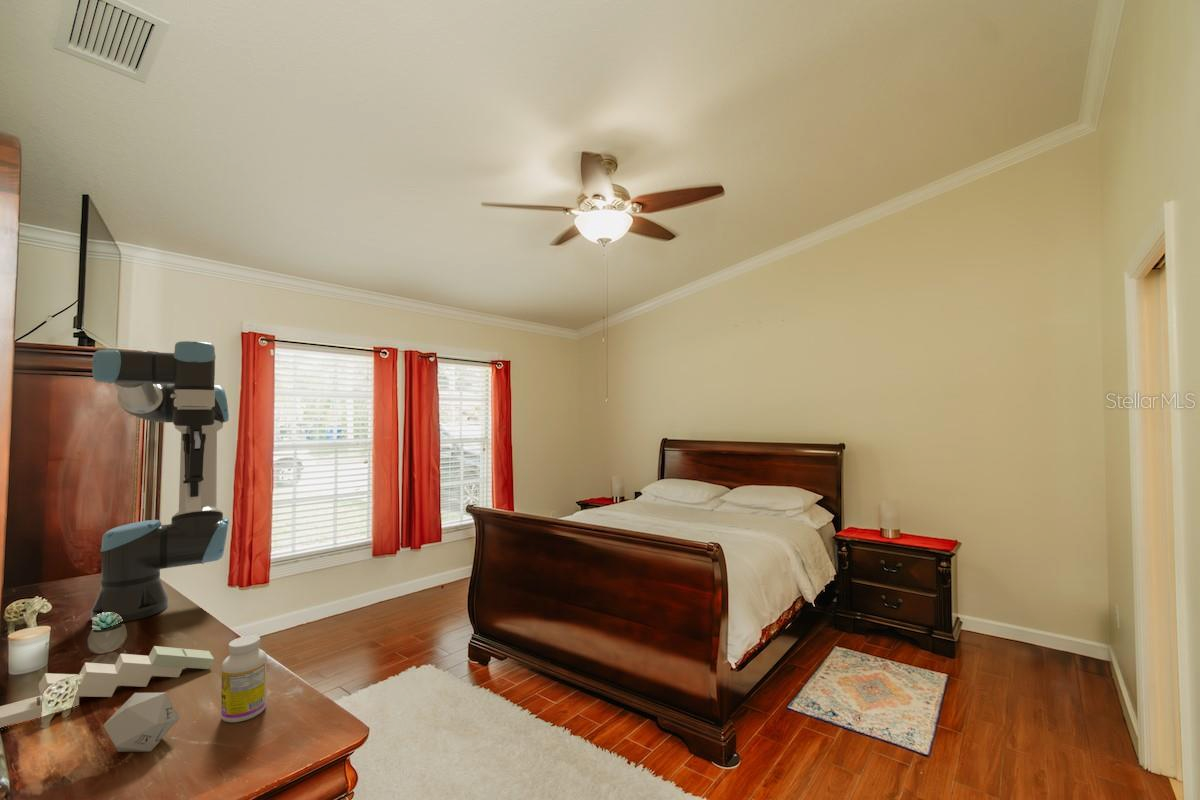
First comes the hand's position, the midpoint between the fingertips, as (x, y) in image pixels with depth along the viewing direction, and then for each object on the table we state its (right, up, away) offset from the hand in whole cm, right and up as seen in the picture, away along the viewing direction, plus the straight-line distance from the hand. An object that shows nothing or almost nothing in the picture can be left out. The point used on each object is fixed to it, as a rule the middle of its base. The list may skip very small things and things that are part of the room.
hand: (193, 510), depth 121 cm
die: (+21, -30, -37) cm, 52 cm away
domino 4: (+12, -29, -11) cm, 33 cm away
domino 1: (-2, -29, -24) cm, 38 cm away
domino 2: (+1, -29, -21) cm, 36 cm away
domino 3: (+8, -29, -14) cm, 33 cm away
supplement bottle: (+31, -30, -28) cm, 52 cm away
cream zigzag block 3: (+4, -29, -17) cm, 34 cm away
